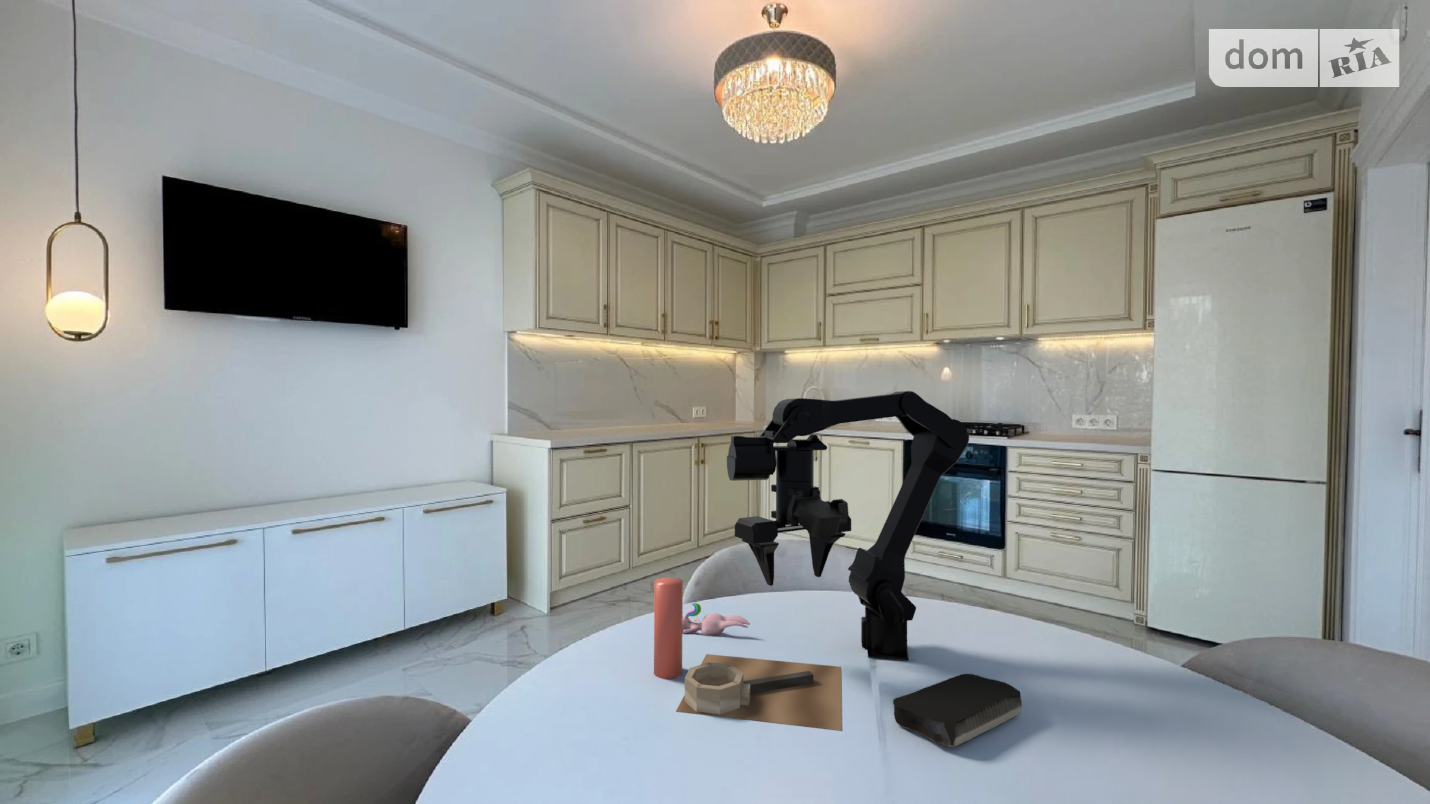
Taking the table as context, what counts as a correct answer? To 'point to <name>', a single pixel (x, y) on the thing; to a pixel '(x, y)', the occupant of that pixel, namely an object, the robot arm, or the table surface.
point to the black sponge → (957, 708)
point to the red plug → (668, 627)
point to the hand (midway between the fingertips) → (794, 580)
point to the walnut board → (765, 691)
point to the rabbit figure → (710, 622)
